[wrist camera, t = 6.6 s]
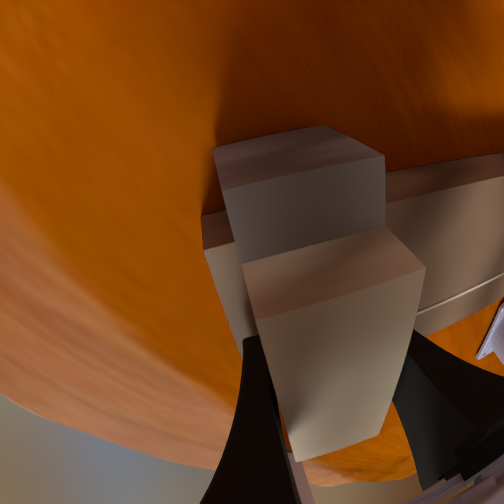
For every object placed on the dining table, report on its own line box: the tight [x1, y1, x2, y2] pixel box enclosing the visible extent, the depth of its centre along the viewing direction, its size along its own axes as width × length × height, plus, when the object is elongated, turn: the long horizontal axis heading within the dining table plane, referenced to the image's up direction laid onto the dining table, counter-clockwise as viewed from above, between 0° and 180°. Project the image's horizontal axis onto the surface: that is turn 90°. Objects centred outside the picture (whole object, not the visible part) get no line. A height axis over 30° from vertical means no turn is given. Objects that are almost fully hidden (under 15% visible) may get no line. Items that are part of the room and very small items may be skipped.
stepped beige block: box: [212, 125, 426, 462], centre depth 11 cm, size 4×12×6 cm, turn 11°
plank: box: [201, 153, 504, 360], centre depth 14 cm, size 18×9×2 cm, turn 101°
